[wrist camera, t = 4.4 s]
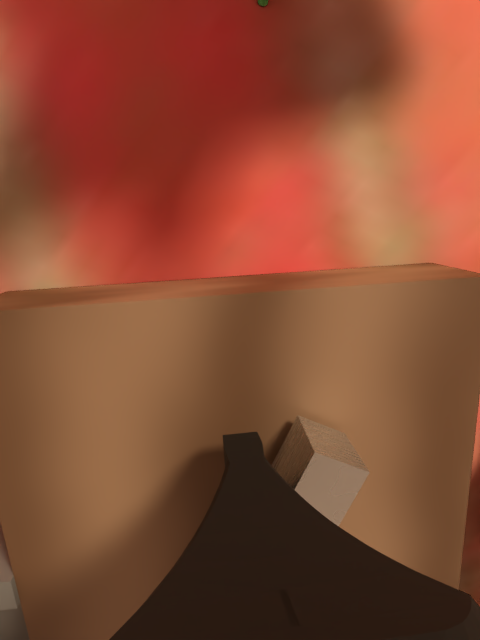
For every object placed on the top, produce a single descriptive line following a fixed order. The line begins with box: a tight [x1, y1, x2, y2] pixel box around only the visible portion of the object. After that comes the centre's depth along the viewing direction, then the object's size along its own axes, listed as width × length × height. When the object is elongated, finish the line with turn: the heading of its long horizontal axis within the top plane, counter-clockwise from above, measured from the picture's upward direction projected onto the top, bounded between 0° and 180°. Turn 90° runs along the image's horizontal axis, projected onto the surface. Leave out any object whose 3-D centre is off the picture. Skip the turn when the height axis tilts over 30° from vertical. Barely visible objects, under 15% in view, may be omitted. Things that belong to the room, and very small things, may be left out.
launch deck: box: [0, 263, 480, 640], centre depth 14 cm, size 14×20×3 cm
